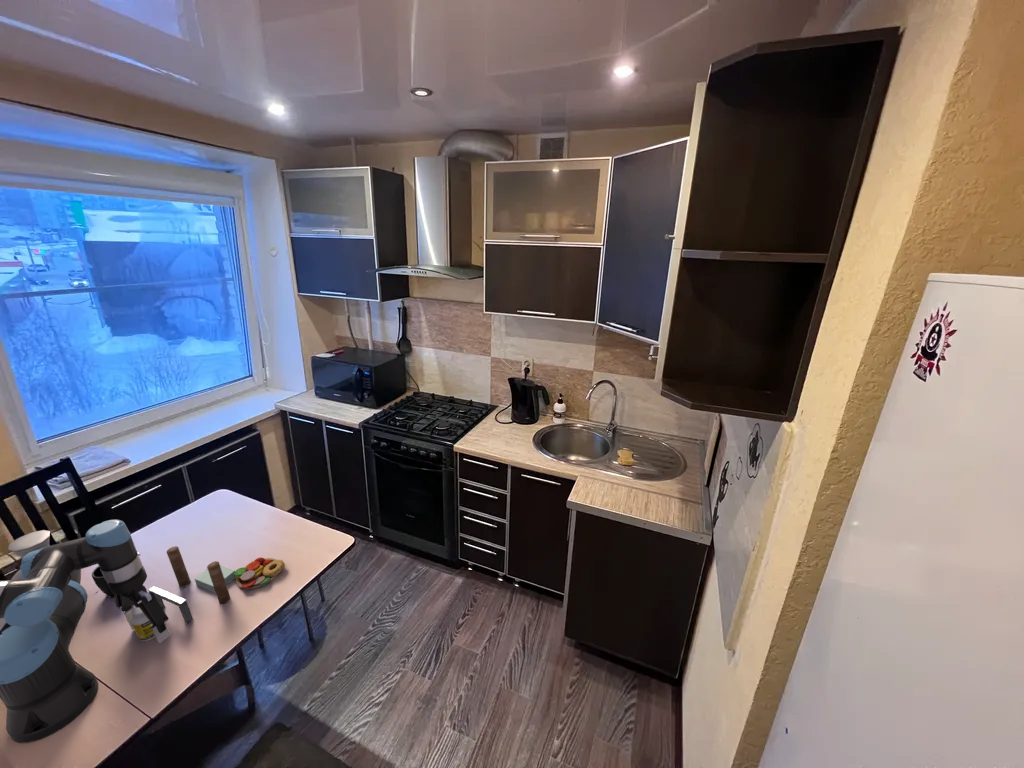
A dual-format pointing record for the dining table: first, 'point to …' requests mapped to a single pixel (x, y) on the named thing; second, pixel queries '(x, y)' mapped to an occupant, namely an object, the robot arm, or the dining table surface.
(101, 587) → the mug
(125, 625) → the dining table surface
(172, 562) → the post far
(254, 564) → the toy food set
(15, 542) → the vase
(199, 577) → the stand
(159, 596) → the rail hurdle
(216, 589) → the post near
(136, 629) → the supplement bottle
